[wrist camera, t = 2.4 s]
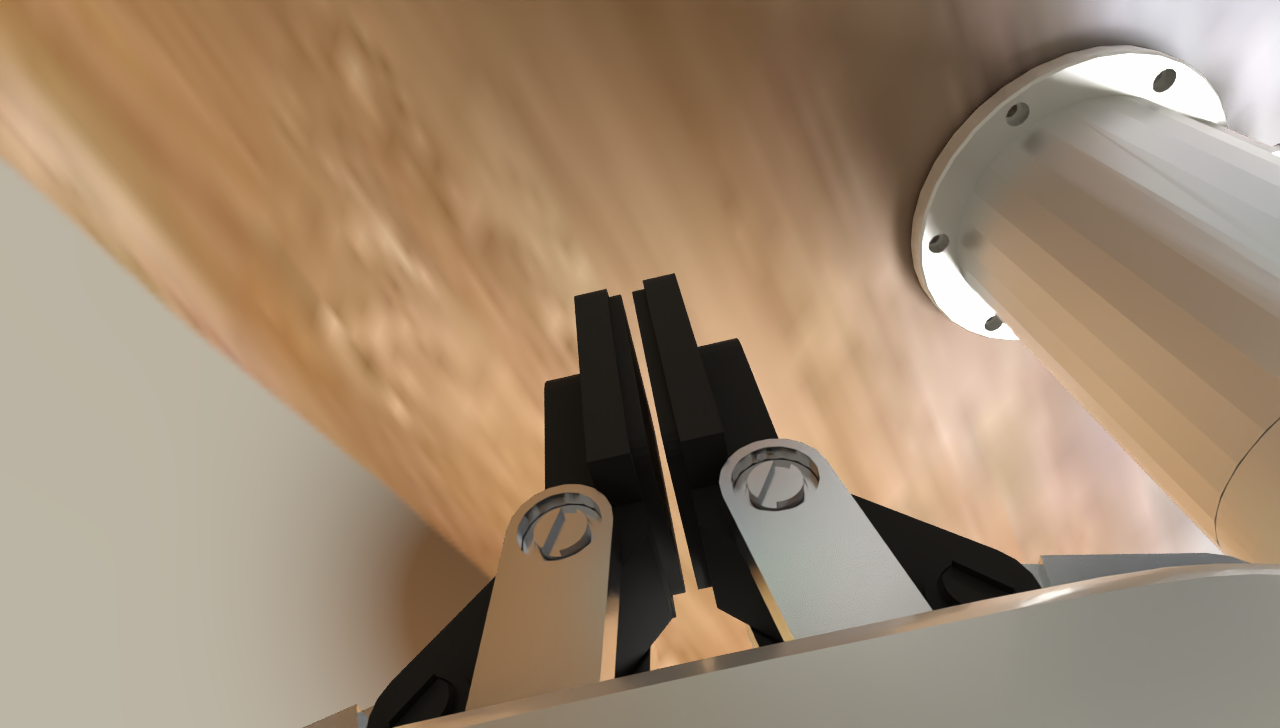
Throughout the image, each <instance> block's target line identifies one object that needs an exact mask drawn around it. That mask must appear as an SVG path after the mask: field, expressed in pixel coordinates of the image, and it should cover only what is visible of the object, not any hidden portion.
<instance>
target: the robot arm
mask: <svg viewBox="0 0 1280 728" xmlns="http://www.w3.org/2000/svg"><path fill="white" fill-rule="evenodd" d="M911 250H912V257H913V265H914V269H915V272H916V274H917V277H918V279H919V282H920V284H921V287H922V289H923V290H924V291H925V293H926V294H927V295H928V297H929V298H930V299H931V301H932V302H933V303H934V305H935V306H936V307H937V308H938V309H939V310H940V311H941V312H942V313H943V314H944V315H945V316H946V317H947V318H948V319H949V320H950V321H951V322H953V323H955V324H956V325H958V326H960V327H961V328H963V329H965V330H966V331H969V332H971V333H974V334H977V335H980V336H983V337H987V338H996V339H1005V340H1020V341H1021V342H1022V343H1023V344H1024V345H1025V346H1026V347H1027V348H1028V350H1029V351H1030V352H1031V353H1032V354H1033V355H1034V356H1035V357H1036V358H1037V359H1038V360H1039V361H1040V362H1041V363H1042V364H1043V365H1044V366H1045V367H1046V368H1047V369H1048V371H1049V372H1050V373H1051V374H1052V375H1053V376H1054V377H1055V378H1056V379H1057V380H1058V381H1059V382H1060V383H1061V384H1062V385H1063V386H1064V387H1065V388H1066V389H1067V390H1068V391H1069V393H1070V394H1071V395H1072V396H1073V397H1074V398H1075V399H1076V400H1077V401H1078V402H1079V403H1080V404H1081V405H1082V406H1083V407H1084V408H1085V409H1086V410H1087V411H1088V412H1089V414H1090V415H1091V416H1092V417H1093V418H1094V419H1095V420H1096V421H1097V422H1098V423H1099V424H1100V425H1101V426H1102V427H1103V428H1104V429H1105V430H1106V431H1107V432H1108V433H1109V434H1110V436H1111V437H1112V438H1113V439H1114V440H1115V441H1116V442H1117V443H1118V444H1119V445H1120V446H1121V447H1122V448H1123V449H1124V450H1125V451H1126V452H1127V453H1128V454H1129V455H1130V456H1131V458H1132V459H1133V460H1134V461H1135V462H1136V463H1137V464H1138V465H1139V466H1140V467H1141V468H1142V469H1143V470H1144V471H1145V472H1146V473H1147V474H1148V475H1149V476H1150V477H1151V479H1152V480H1153V481H1154V482H1155V483H1156V484H1157V485H1158V486H1159V487H1160V488H1161V489H1162V490H1163V491H1164V492H1165V493H1166V494H1167V495H1168V496H1169V497H1170V498H1171V499H1172V501H1173V502H1174V503H1175V504H1176V505H1177V506H1178V507H1179V508H1180V509H1181V510H1182V511H1183V512H1184V513H1185V514H1186V515H1187V516H1188V517H1189V518H1190V519H1191V520H1192V522H1193V523H1194V524H1195V525H1196V526H1197V527H1198V528H1199V529H1200V530H1201V531H1202V532H1203V533H1204V534H1205V535H1206V536H1207V537H1208V538H1209V539H1210V540H1211V541H1212V542H1213V544H1214V545H1215V546H1216V547H1217V548H1218V549H1219V550H1220V551H1221V552H1222V553H1223V554H1224V555H1217V554H1209V553H1182V554H1112V555H1042V556H1040V560H1039V564H1020V563H1019V562H1018V561H1017V560H1016V559H1014V558H1012V557H1010V556H1008V555H1006V554H1004V553H1002V552H1000V551H998V550H996V549H993V548H991V547H988V546H985V545H983V544H980V543H978V542H975V541H972V540H970V539H967V538H965V537H962V536H959V535H957V534H954V533H951V532H949V531H946V530H944V529H941V528H938V527H936V526H933V525H931V524H928V523H925V522H923V521H920V520H918V519H915V518H912V517H910V516H907V515H905V514H902V513H899V512H897V511H894V510H891V509H889V508H886V507H884V506H881V505H878V504H876V503H873V502H871V501H868V500H865V499H863V498H860V497H858V496H855V495H852V494H850V493H849V491H848V490H847V488H846V487H845V485H844V484H843V483H842V481H841V480H840V478H839V477H838V476H837V474H836V473H835V471H834V470H833V469H832V467H831V466H830V464H829V463H828V461H827V460H826V459H825V458H824V457H823V456H822V455H821V454H820V453H819V452H818V451H817V450H816V449H814V448H812V447H810V446H808V445H806V444H804V443H802V442H798V441H794V440H789V439H778V436H777V434H776V431H775V429H774V426H773V424H772V421H771V419H770V416H769V414H768V411H767V409H766V406H765V404H764V401H763V399H762V396H761V394H760V391H759V389H758V386H757V384H756V381H755V379H754V376H753V374H752V371H751V368H750V366H749V363H748V361H747V358H746V356H745V353H744V351H743V348H742V346H741V344H740V342H739V340H738V339H737V338H735V339H731V340H726V341H722V342H718V343H713V344H709V345H704V346H700V347H697V344H696V340H695V337H694V334H693V331H692V328H691V324H690V321H689V318H688V315H687V311H686V308H685V305H684V302H683V299H682V295H681V292H680V289H679V286H678V282H677V279H676V276H675V274H674V273H673V274H669V275H665V276H660V277H656V278H652V279H647V280H643V284H644V288H645V289H642V290H638V291H634V292H632V294H633V299H634V304H635V309H636V314H637V319H638V324H639V328H640V333H641V338H642V343H643V348H644V353H645V358H646V363H647V368H648V373H649V378H650V382H651V387H652V392H653V397H654V402H655V407H656V412H657V417H658V422H659V427H660V431H661V436H662V441H663V445H664V450H665V454H666V458H667V463H668V467H669V471H670V475H671V479H672V483H673V487H674V491H675V496H676V500H677V504H678V508H679V512H680V516H681V520H682V524H683V528H684V533H685V537H686V541H687V545H688V549H689V553H690V557H691V561H692V566H693V570H694V574H695V578H696V582H697V586H698V589H703V588H708V587H713V591H714V595H715V600H716V604H717V608H719V609H720V610H722V611H724V612H726V613H728V614H730V615H731V616H733V617H735V618H737V619H739V620H741V621H742V622H744V623H745V624H746V628H747V632H748V636H749V639H750V641H751V643H752V646H753V648H754V649H749V650H744V651H740V652H735V653H730V654H726V655H721V656H716V657H712V658H707V659H702V660H698V661H693V662H689V663H684V664H679V665H675V666H670V667H665V668H661V669H658V653H657V647H656V642H655V640H656V639H657V637H658V636H659V635H660V634H661V632H662V631H663V630H664V628H665V627H666V626H667V625H668V623H669V622H670V621H671V619H672V618H675V617H676V612H675V606H674V601H673V595H676V594H680V593H685V592H686V591H685V585H684V580H683V575H682V570H681V564H680V559H679V554H678V549H677V544H676V539H675V534H674V528H673V523H672V518H671V513H670V508H669V503H668V497H667V492H666V487H665V482H664V477H663V472H662V467H661V461H660V456H659V451H658V446H657V441H656V436H655V431H654V426H653V422H652V417H651V413H650V409H649V405H648V401H647V397H646V393H645V389H644V385H643V381H642V377H641V373H640V369H639V365H638V361H637V357H636V353H635V349H634V345H633V341H632V337H631V333H630V329H629V325H628V321H627V317H626V313H625V309H624V305H623V301H622V297H621V295H616V296H612V297H609V295H608V292H607V289H604V290H599V291H595V292H591V293H586V294H582V295H578V296H575V297H574V301H575V314H576V328H577V341H578V354H579V368H580V374H577V375H572V376H568V377H564V378H559V379H555V380H550V381H546V383H545V388H544V407H545V490H544V491H542V492H540V493H538V494H536V495H534V496H533V497H531V498H530V499H529V500H527V501H526V502H525V503H523V504H522V505H521V506H520V507H519V509H518V510H517V511H516V513H515V514H514V515H513V516H512V518H511V520H510V523H509V525H508V527H507V530H506V534H505V538H504V542H503V547H502V551H501V556H500V560H499V564H498V569H497V573H496V576H495V577H494V578H493V579H492V580H491V581H490V582H489V584H487V585H486V586H485V587H484V588H483V589H482V590H481V592H480V593H479V594H478V595H476V597H475V598H474V599H473V600H472V601H471V602H470V603H469V604H468V605H467V606H466V607H465V608H464V609H463V610H462V611H461V612H460V613H459V614H458V615H457V616H456V617H455V618H454V619H453V620H452V621H451V622H450V623H449V624H448V625H447V626H446V627H445V628H444V629H443V630H442V631H441V632H440V633H439V634H438V635H437V636H436V637H435V638H434V639H433V640H432V641H431V642H430V643H429V644H428V645H427V646H426V647H425V648H424V649H423V650H422V651H421V652H420V653H419V654H418V655H417V656H416V657H415V658H414V659H413V660H412V661H411V662H410V663H409V664H408V665H407V666H406V667H405V668H404V669H403V670H402V671H401V673H399V674H398V675H397V676H396V677H395V678H394V679H393V680H392V681H391V683H390V684H389V685H388V686H387V688H386V689H385V690H384V691H383V693H382V694H381V695H380V696H379V698H378V699H377V701H376V703H375V705H374V706H372V707H370V708H368V709H365V710H363V711H362V710H361V709H360V707H359V706H358V705H357V704H355V705H353V706H351V707H349V708H346V709H344V710H342V711H340V712H337V713H335V714H333V715H331V716H328V717H326V718H324V719H322V720H319V721H317V722H315V723H312V724H310V725H308V726H306V727H303V728H1280V143H1279V144H1277V145H1275V146H1273V147H1270V146H1268V145H1266V144H1263V143H1261V142H1259V141H1256V140H1254V139H1251V138H1249V137H1247V136H1244V135H1242V134H1240V133H1237V132H1235V131H1233V130H1230V129H1228V128H1227V120H1226V116H1225V113H1224V110H1223V107H1222V104H1221V101H1220V98H1219V95H1218V94H1217V92H1216V91H1215V90H1214V88H1213V87H1212V86H1211V84H1210V83H1209V82H1208V80H1207V79H1206V77H1205V76H1204V75H1203V74H1201V73H1200V72H1198V71H1197V70H1196V69H1194V68H1193V67H1192V66H1190V65H1189V64H1187V63H1186V62H1185V61H1183V60H1180V59H1177V58H1175V57H1172V56H1170V55H1167V54H1164V53H1162V52H1159V51H1156V50H1151V49H1146V48H1141V47H1136V46H1131V45H1119V46H1098V47H1093V48H1089V49H1085V50H1081V51H1076V52H1072V53H1068V54H1065V55H1063V56H1060V57H1058V58H1056V59H1053V60H1051V61H1049V62H1046V63H1044V64H1041V65H1039V66H1037V67H1035V68H1033V69H1031V70H1030V71H1028V72H1026V73H1025V74H1023V75H1022V76H1020V77H1018V78H1017V79H1015V80H1013V81H1012V82H1010V83H1009V84H1007V85H1005V86H1004V87H1003V88H1001V89H1000V90H999V91H998V92H997V93H995V94H994V95H993V96H992V97H991V98H989V99H988V100H987V101H986V102H985V103H983V104H982V105H981V106H980V107H979V108H977V109H976V110H975V111H974V113H973V114H972V115H971V116H970V117H969V118H968V119H967V120H966V121H965V122H964V124H963V125H962V126H961V127H960V128H959V129H958V130H957V131H956V132H955V133H954V135H953V136H952V137H951V139H950V140H949V142H948V143H947V145H946V146H945V148H944V149H943V151H942V152H941V154H940V155H939V156H938V158H937V159H936V161H935V162H934V164H933V166H932V168H931V170H930V173H929V175H928V177H927V179H926V181H925V183H924V185H923V187H922V190H921V192H920V195H919V199H918V202H917V206H916V210H915V213H914V217H913V224H912V236H911Z"/></svg>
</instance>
